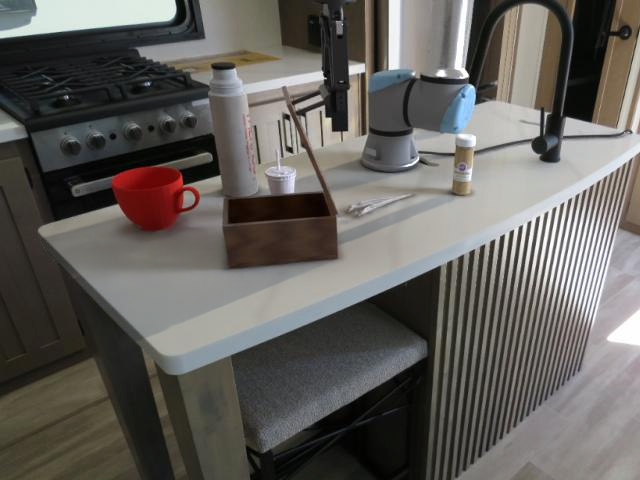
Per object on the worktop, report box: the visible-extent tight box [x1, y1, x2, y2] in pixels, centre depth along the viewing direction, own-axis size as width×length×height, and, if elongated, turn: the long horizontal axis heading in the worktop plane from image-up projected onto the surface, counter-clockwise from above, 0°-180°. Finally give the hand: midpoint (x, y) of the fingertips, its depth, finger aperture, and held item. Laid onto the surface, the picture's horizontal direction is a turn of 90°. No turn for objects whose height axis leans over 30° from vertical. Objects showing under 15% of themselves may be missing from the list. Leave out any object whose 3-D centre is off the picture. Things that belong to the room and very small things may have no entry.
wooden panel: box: [280, 83, 339, 216], centre depth 100 cm, size 21×13×8 cm
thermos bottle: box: [207, 61, 259, 197], centre depth 124 cm, size 8×8×28 cm
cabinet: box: [221, 190, 339, 269], centre depth 106 cm, size 20×13×8 cm, turn 104°
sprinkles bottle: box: [451, 133, 477, 196], centre depth 131 cm, size 5×5×13 cm
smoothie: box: [264, 148, 297, 195], centre depth 118 cm, size 6×6×14 cm
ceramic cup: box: [110, 166, 201, 232], centre depth 113 cm, size 13×17×10 cm
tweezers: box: [346, 193, 412, 218], centre depth 127 cm, size 18×5×2 cm, turn 132°
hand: (336, 123), depth 98 cm, fingers closed on wooden panel, 8 cm apart
